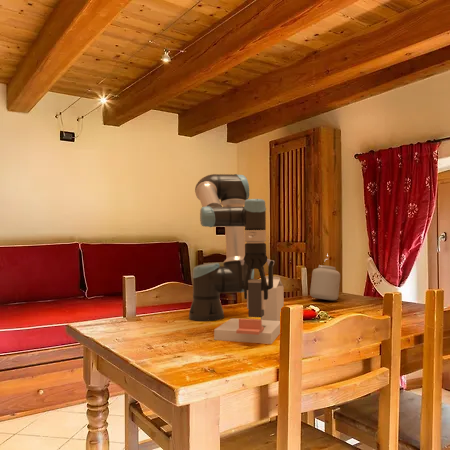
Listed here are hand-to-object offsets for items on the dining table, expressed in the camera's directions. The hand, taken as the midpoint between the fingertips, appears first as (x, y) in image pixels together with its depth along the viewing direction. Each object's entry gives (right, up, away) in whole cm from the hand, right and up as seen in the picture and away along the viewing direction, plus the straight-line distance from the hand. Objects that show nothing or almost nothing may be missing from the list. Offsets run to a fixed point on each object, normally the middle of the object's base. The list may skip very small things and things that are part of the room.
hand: (256, 308), depth 151 cm
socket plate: (-2, -10, +3) cm, 11 cm away
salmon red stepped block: (-3, -6, -8) cm, 10 cm away
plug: (0, -3, 0) cm, 3 cm away
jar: (+43, -11, +78) cm, 90 cm away
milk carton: (+8, -11, +22) cm, 26 cm away
